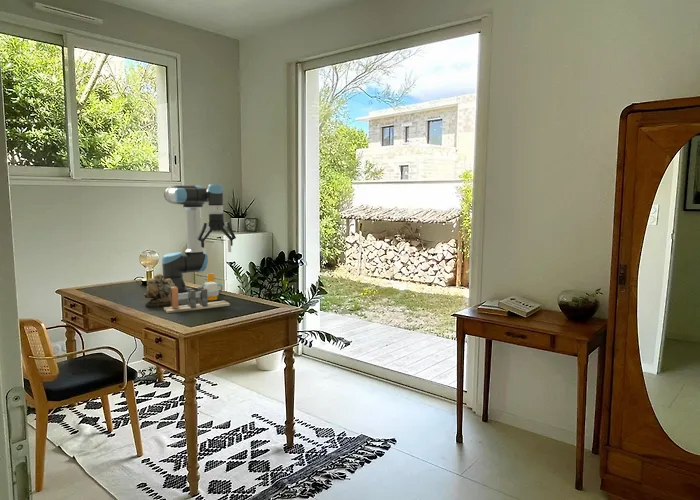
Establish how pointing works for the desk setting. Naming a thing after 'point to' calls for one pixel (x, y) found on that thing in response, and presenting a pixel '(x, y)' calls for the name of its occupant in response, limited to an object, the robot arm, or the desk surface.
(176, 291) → the shaft
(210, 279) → the sippy cup
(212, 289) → the block
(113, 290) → the desk surface
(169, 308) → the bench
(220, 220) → the robot arm
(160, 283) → the brown rough lump
